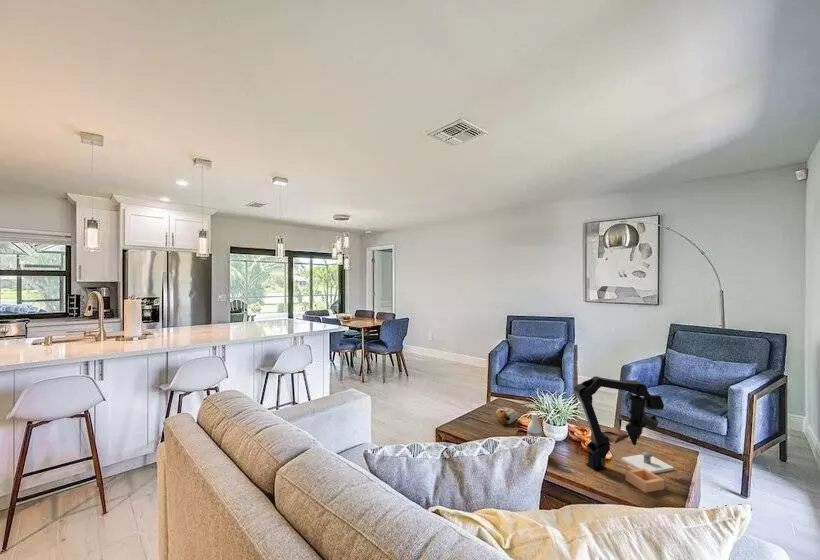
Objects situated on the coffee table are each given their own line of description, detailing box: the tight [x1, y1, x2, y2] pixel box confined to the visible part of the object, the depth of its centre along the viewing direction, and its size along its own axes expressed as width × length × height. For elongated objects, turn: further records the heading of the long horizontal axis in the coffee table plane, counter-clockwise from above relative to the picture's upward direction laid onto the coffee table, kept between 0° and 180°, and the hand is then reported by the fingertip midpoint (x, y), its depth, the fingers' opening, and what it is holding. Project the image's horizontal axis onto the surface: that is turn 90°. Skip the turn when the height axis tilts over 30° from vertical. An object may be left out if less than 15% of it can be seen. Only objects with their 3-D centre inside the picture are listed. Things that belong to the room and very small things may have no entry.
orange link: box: [625, 464, 665, 494], centre depth 164 cm, size 10×14×4 cm
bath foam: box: [526, 412, 543, 437], centre depth 190 cm, size 7×7×20 cm
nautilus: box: [495, 406, 519, 427], centre depth 230 cm, size 8×22×15 cm
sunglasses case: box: [602, 425, 629, 444], centre depth 210 cm, size 18×7×7 cm, turn 128°
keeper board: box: [621, 451, 675, 474], centre depth 179 cm, size 16×14×5 cm
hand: (636, 441), depth 175 cm, fingers open, 9 cm apart
